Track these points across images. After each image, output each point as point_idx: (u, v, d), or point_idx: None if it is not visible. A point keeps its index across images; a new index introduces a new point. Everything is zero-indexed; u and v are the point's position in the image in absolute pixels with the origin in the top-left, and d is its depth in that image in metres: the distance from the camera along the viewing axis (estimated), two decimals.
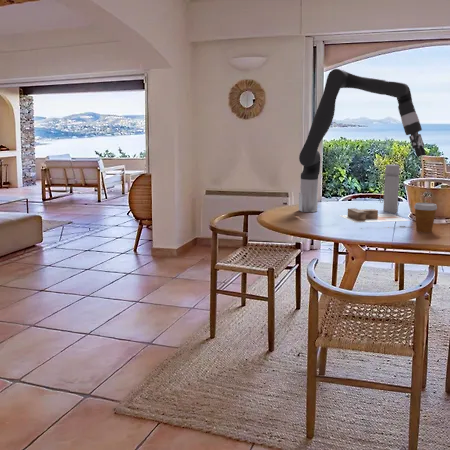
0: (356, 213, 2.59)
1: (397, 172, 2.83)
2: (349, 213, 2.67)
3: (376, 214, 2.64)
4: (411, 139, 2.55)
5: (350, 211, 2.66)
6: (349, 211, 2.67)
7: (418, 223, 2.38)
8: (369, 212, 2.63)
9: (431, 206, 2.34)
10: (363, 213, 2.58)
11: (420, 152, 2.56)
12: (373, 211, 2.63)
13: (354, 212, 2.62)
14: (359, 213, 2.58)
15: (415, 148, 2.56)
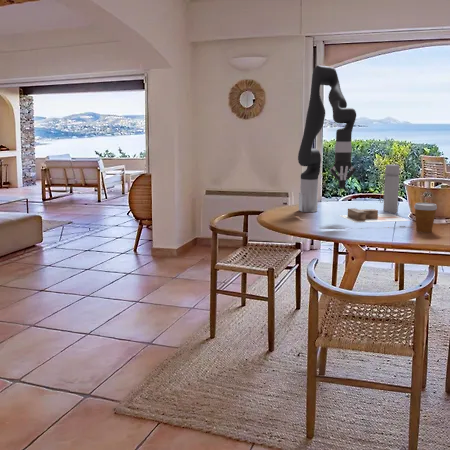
0: (356, 213, 2.59)
1: (397, 172, 2.83)
2: (349, 213, 2.67)
3: (376, 214, 2.64)
4: (331, 172, 2.59)
5: (350, 211, 2.66)
6: (349, 211, 2.67)
7: (418, 223, 2.38)
8: (369, 212, 2.63)
9: (431, 206, 2.34)
10: (363, 213, 2.58)
11: (341, 185, 2.59)
12: (373, 211, 2.63)
13: (354, 212, 2.62)
14: (359, 213, 2.58)
15: (338, 179, 2.60)
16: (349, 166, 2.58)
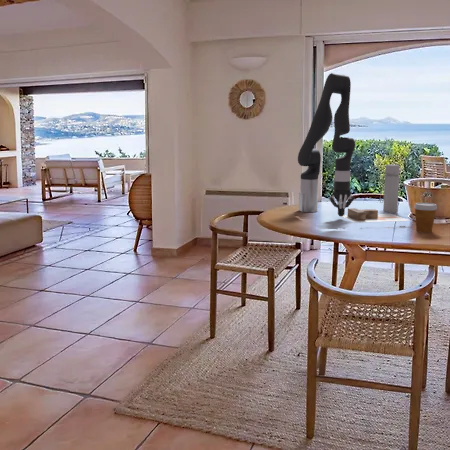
0: (356, 213, 2.59)
1: (397, 172, 2.83)
2: (349, 213, 2.67)
3: (376, 214, 2.64)
4: (330, 200, 2.61)
5: (350, 211, 2.66)
6: (349, 211, 2.67)
7: (418, 223, 2.38)
8: (369, 212, 2.63)
9: (431, 206, 2.34)
10: (363, 213, 2.58)
11: (340, 213, 2.62)
12: (373, 211, 2.63)
13: (354, 212, 2.62)
14: (359, 213, 2.58)
15: (337, 207, 2.62)
16: (348, 195, 2.60)
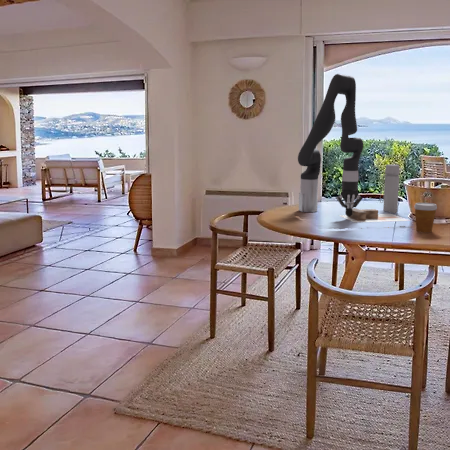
0: (356, 213, 2.59)
1: (397, 172, 2.83)
2: None
3: (376, 214, 2.64)
4: (338, 200, 2.62)
5: None
6: None
7: (418, 223, 2.38)
8: (369, 212, 2.63)
9: (431, 206, 2.34)
10: (363, 213, 2.58)
11: (348, 213, 2.62)
12: (373, 211, 2.63)
13: (354, 212, 2.62)
14: (359, 213, 2.58)
15: (345, 207, 2.63)
16: (356, 195, 2.61)
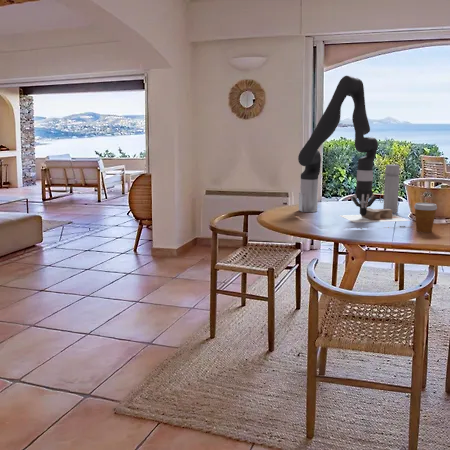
0: (370, 213, 2.60)
1: (397, 172, 2.83)
2: None
3: (390, 214, 2.65)
4: None
5: None
6: None
7: (418, 223, 2.38)
8: (383, 212, 2.64)
9: (431, 206, 2.34)
10: (378, 213, 2.59)
11: (362, 212, 2.63)
12: (387, 211, 2.64)
13: (368, 212, 2.63)
14: (374, 213, 2.59)
15: None
16: (370, 194, 2.62)
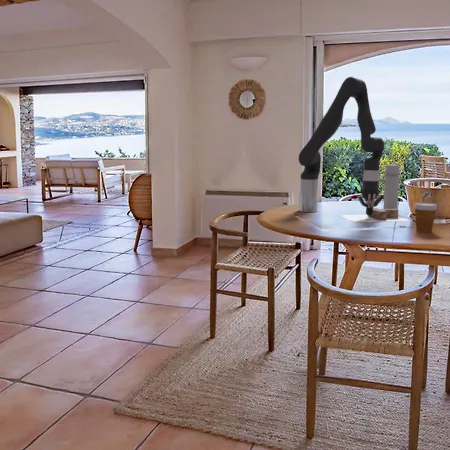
0: (377, 212, 2.61)
1: (397, 172, 2.83)
2: None
3: (397, 213, 2.65)
4: (359, 200, 2.64)
5: None
6: None
7: (418, 223, 2.38)
8: (390, 211, 2.65)
9: (431, 206, 2.34)
10: (384, 212, 2.60)
11: (368, 212, 2.64)
12: (394, 210, 2.65)
13: (375, 211, 2.63)
14: (380, 212, 2.60)
15: (365, 206, 2.65)
16: (376, 194, 2.63)
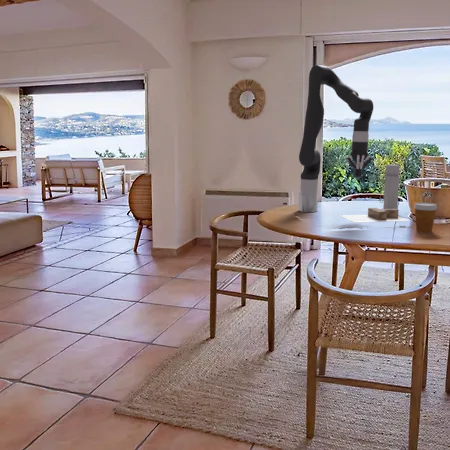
0: (377, 212, 2.61)
1: (397, 172, 2.83)
2: (370, 213, 2.69)
3: (397, 213, 2.65)
4: (348, 161, 2.65)
5: (371, 210, 2.68)
6: (369, 210, 2.69)
7: (418, 223, 2.38)
8: (390, 211, 2.65)
9: (431, 206, 2.34)
10: (384, 212, 2.60)
11: (357, 173, 2.66)
12: (394, 210, 2.65)
13: (375, 211, 2.63)
14: (380, 212, 2.60)
15: None
16: (365, 155, 2.64)
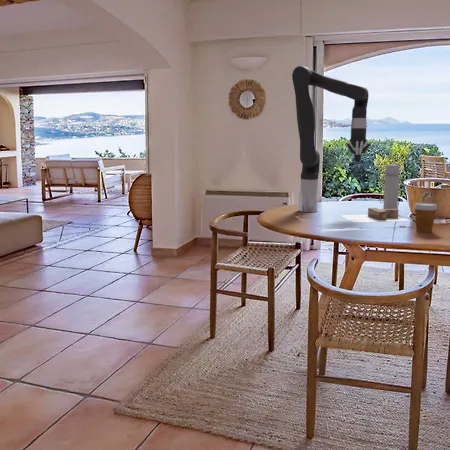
0: (377, 212, 2.61)
1: (397, 172, 2.83)
2: (370, 213, 2.69)
3: (397, 213, 2.65)
4: (347, 147, 2.77)
5: (371, 210, 2.68)
6: (369, 210, 2.69)
7: (418, 223, 2.38)
8: (390, 211, 2.65)
9: (431, 206, 2.34)
10: (384, 212, 2.60)
11: (356, 159, 2.77)
12: (394, 210, 2.65)
13: (375, 211, 2.63)
14: (380, 212, 2.60)
15: (353, 153, 2.78)
16: (364, 141, 2.76)
